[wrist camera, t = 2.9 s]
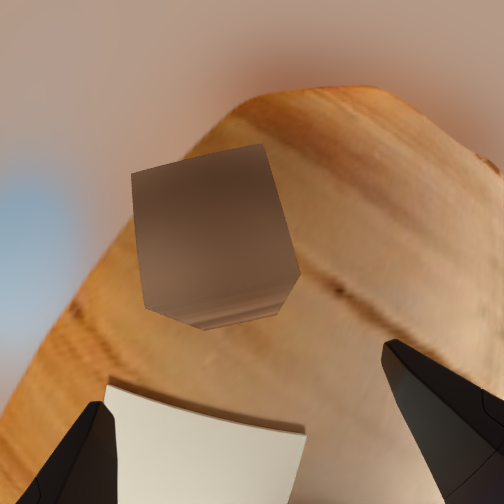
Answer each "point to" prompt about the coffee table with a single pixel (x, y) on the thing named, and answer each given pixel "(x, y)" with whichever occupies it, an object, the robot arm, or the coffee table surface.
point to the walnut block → (213, 239)
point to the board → (198, 455)
